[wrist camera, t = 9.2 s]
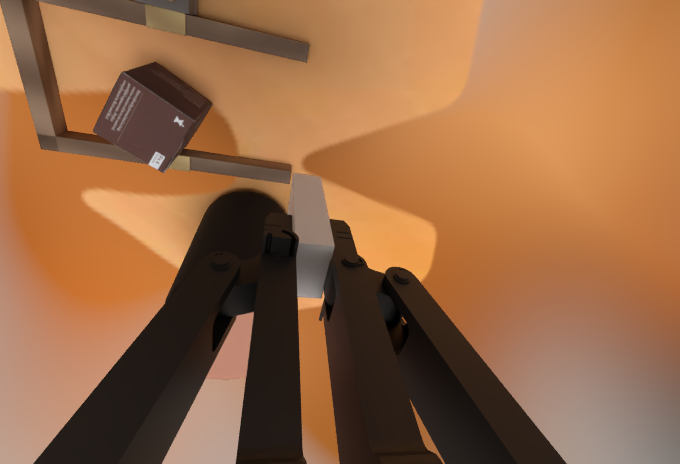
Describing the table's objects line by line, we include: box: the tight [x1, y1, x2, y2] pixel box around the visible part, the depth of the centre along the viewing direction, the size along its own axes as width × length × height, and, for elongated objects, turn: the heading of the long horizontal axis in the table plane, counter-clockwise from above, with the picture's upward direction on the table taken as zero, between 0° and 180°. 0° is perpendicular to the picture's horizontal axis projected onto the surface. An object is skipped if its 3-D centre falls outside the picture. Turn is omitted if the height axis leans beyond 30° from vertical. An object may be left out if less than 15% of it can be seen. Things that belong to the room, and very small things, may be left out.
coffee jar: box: [165, 192, 285, 380], centre depth 33 cm, size 11×11×18 cm
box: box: [93, 62, 212, 173], centre depth 29 cm, size 6×6×7 cm
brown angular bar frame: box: [0, 0, 309, 184], centre depth 29 cm, size 17×24×4 cm
